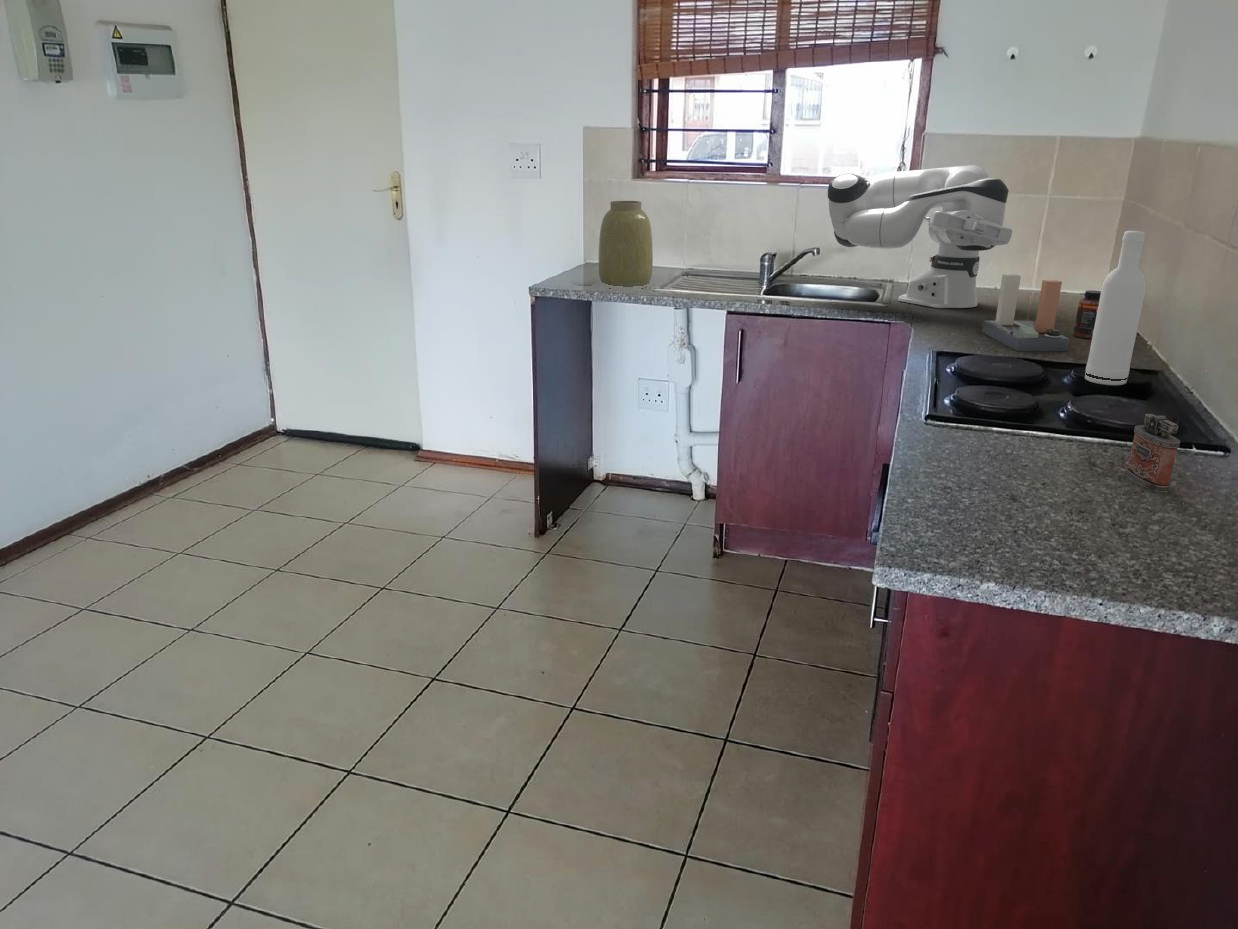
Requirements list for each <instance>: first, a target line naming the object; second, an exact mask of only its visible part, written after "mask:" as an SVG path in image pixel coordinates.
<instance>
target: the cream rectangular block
mask: <svg viewBox="0 0 1238 929" xmlns="http://www.w3.org/2000/svg"><path fill="white" fill-rule="evenodd" d="M1020 282H1021V275H1018V274H1002V276H1001V282H1000V288H999V289H1000V290H999V296H998V302H997V308H996V315H995V320H994V321H995V323H997V324H999V325H1013V322H1014V321H1015V316H1016V315H1015V314H1016V309H1017V308H1016V307H1017V302H1018V297H1019V290H1020Z"/></svg>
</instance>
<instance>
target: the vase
mask: <svg viewBox="0 0 1238 929" xmlns="http://www.w3.org/2000/svg"><path fill="white" fill-rule="evenodd" d="M598 239H599V241H598V276H599V279H600V282H602V283H605V284H608V285H613V286H623V287H633V286H644V285H647V284H648V285H649V284H650V282H651V280H652V276H653V262H654V261H653V260H654V259H653V256H654V255H653V254H654V253H653V252H654V250H653V236H652V228H651V223H650V219H649V217H648V215H647V214H646V212H645V211H644V210H643V209H642V201H637V200H614V201H610V209H609V210H608V211H607V212H606V213H605V214H604V216H603V218H602V220H601V225H600V231H599V238H598ZM602 283H601V284H602ZM645 288H646V289H647V288H648V286H647V287H645ZM609 289H611V288H609ZM641 289H644V288H641Z"/></svg>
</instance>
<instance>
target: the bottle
mask: <svg viewBox="0 0 1238 929" xmlns="http://www.w3.org/2000/svg"><path fill="white" fill-rule="evenodd" d="M1145 236H1146V233H1145V231H1141V230H1140V231H1139V230H1126V231H1124V233H1123V237H1122V239H1121V241H1122V243H1121V248H1120V253H1119V258H1118V263H1117V264H1118V265H1117V267H1116V268H1114V269H1112V270H1111V271H1110V272H1109V273H1108V274H1107V276H1106V277H1105V278H1104V280H1103V283H1102V287H1101V295H1100V301H1099V306H1098V311H1097V316H1096V321H1095V327H1094V332H1093V337H1092V338H1091V343H1090V349H1089V352H1088V353H1089V354H1088V359H1087V361H1086V362H1087V363H1086V366H1085V373H1084V374H1085V375H1084V379H1085V380H1086V381H1088V382H1091V383H1094V384H1098V385H1105V386H1122V385H1125V384H1127V381H1128V378H1129V374H1130V370H1131V369H1130V368H1131V367H1130V366H1131V361H1132V356H1133V352H1134V348H1135V342H1136V337H1137V333H1138V328H1139V323H1140V318H1141V314H1142V311H1143V309H1142V308H1143V304H1144V299H1145V294H1146V291H1147V290H1146V289H1147V284H1146V276H1145V275H1144V274H1143V272H1142V271H1141V270H1140V269H1139V265H1140V260H1141V255H1142V250H1143V246H1144V243H1145ZM1086 373H1087V374H1091V375H1094V376H1098V377H1103V378H1110V379H1125V378H1127V379H1126V380H1121V381H1111V380H1102V379H1096V378H1092V377H1089V376H1087V375H1086Z"/></svg>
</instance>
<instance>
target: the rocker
mask: <svg viewBox="0 0 1238 929" xmlns="http://www.w3.org/2000/svg"><path fill="white" fill-rule="evenodd" d="M1018 331H1019V332H1020V333H1021V334H1022V335H1023V336H1024V337H1025V338H1038V335H1039V333H1038V332H1037V331H1036V330H1035V329H1034V328H1033V327H1019V330H1018Z"/></svg>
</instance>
